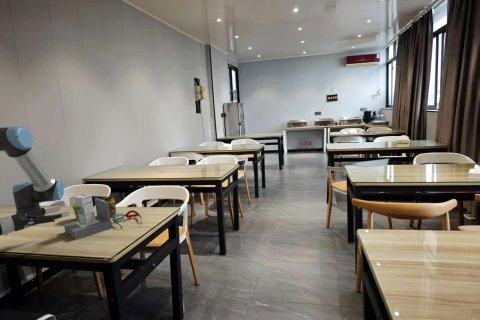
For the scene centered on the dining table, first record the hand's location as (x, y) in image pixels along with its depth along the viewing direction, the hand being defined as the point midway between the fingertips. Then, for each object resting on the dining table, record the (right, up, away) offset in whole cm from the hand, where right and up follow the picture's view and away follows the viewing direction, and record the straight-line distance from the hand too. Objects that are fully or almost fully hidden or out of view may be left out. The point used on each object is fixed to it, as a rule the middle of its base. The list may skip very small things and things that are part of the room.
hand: (64, 210), depth 153 cm
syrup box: (+7, -8, +8) cm, 13 cm away
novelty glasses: (+26, -10, +16) cm, 32 cm away
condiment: (+10, -9, +29) cm, 32 cm away
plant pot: (-6, -10, +29) cm, 31 cm away
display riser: (+8, -12, +9) cm, 17 cm away
